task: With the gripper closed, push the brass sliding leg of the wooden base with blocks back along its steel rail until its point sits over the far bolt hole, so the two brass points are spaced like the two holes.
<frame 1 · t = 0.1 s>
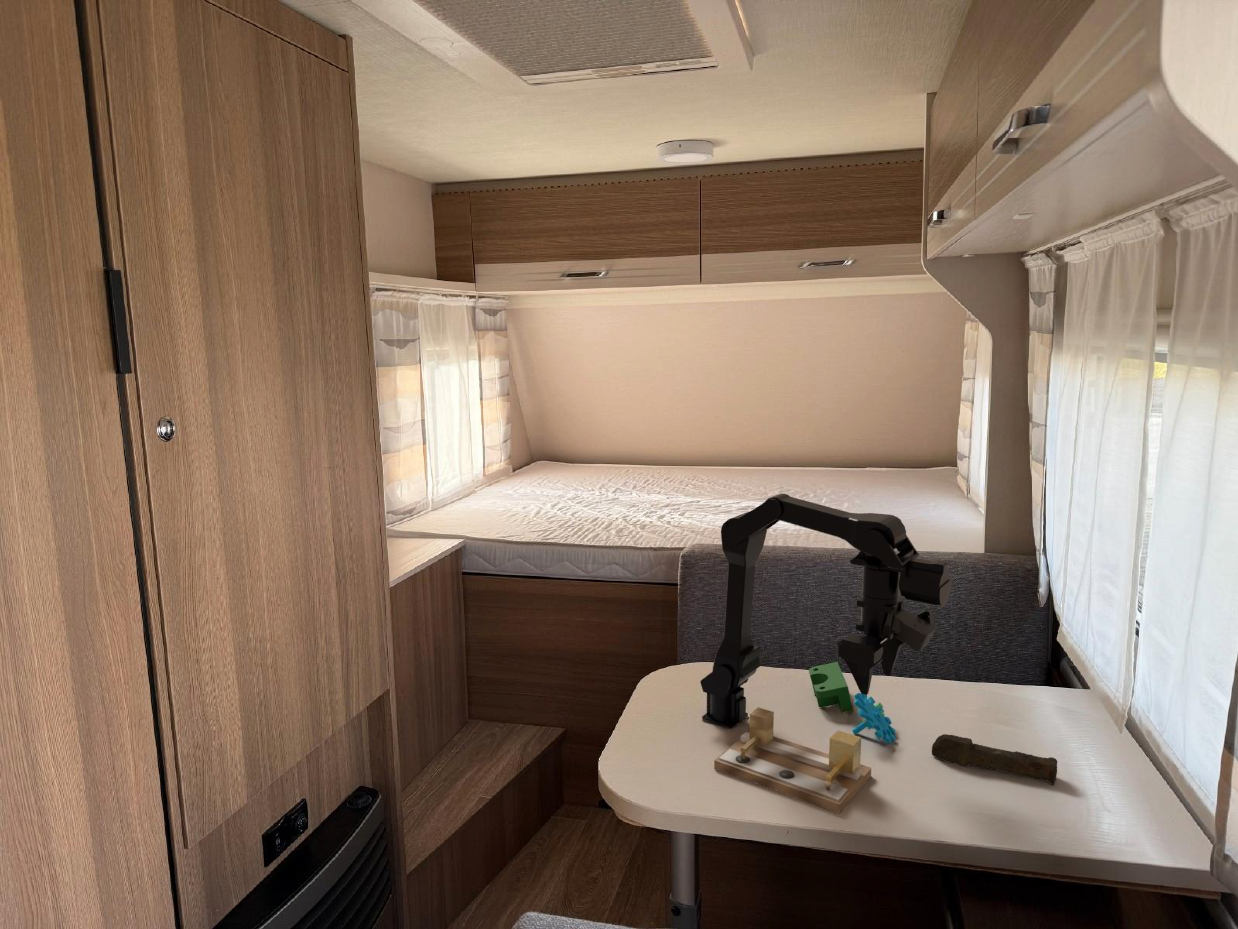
hand: (876, 684, 140), 15 cm above the table, tool pointing down, fingers open, 9 cm apart
hand tool: (992, 772, 141), on the table
sliding leg: (838, 760, 136), point 5 cm above the table, slide at 0.0 cm
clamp: (829, 702, 167), on the table
gear: (874, 736, 153), on the table
wooden base with blocks: (791, 772, 141), on the table
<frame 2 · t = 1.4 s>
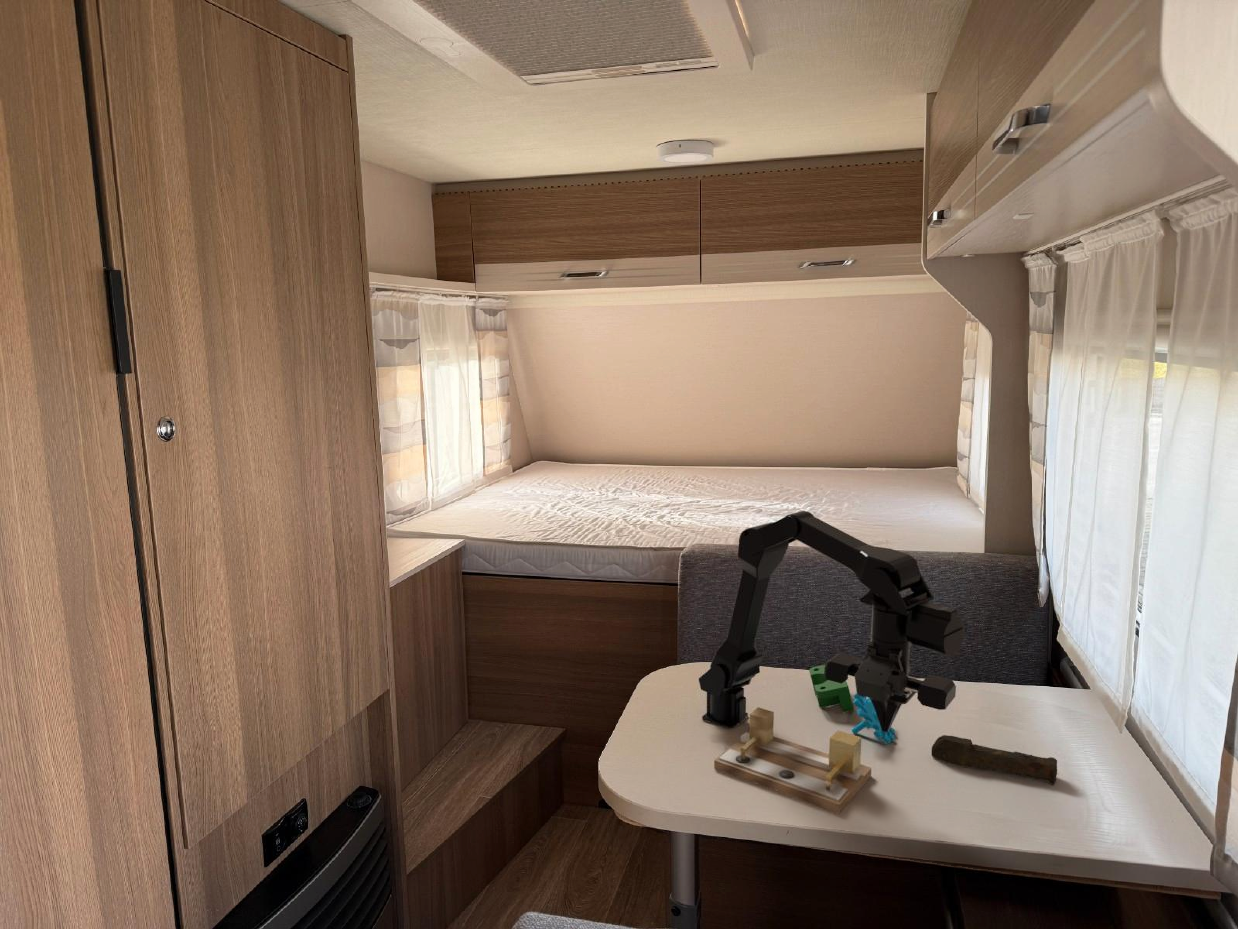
hand: (885, 731, 133), 11 cm above the table, tool pointing down, fingers closed
nothing on the table moved.
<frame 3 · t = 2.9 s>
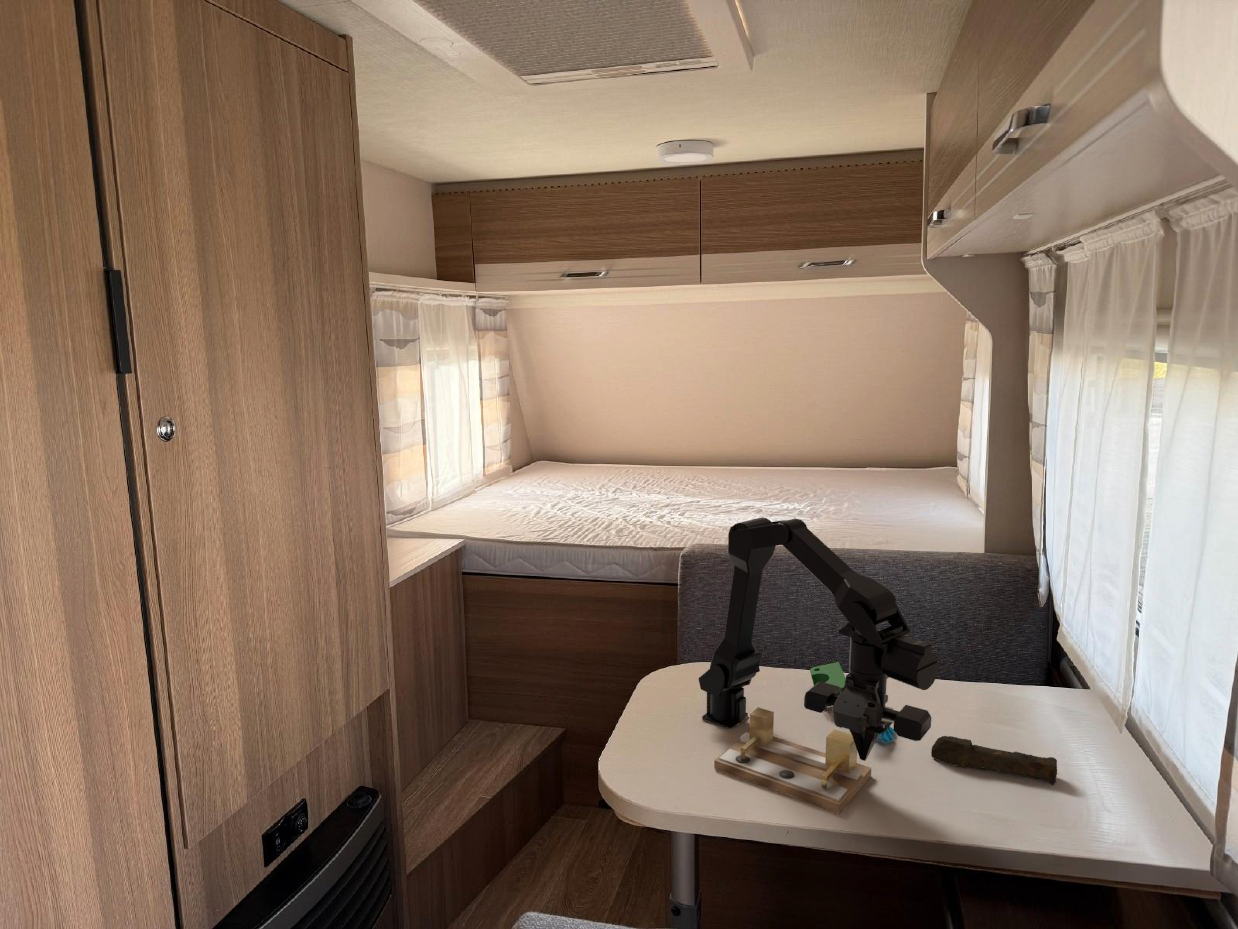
hand: (863, 759, 136), 5 cm above the table, tool pointing down, fingers closed
sliding leg: (834, 759, 136), point 5 cm above the table, slide at 0.6 cm, touching gripper
everything else where it was.
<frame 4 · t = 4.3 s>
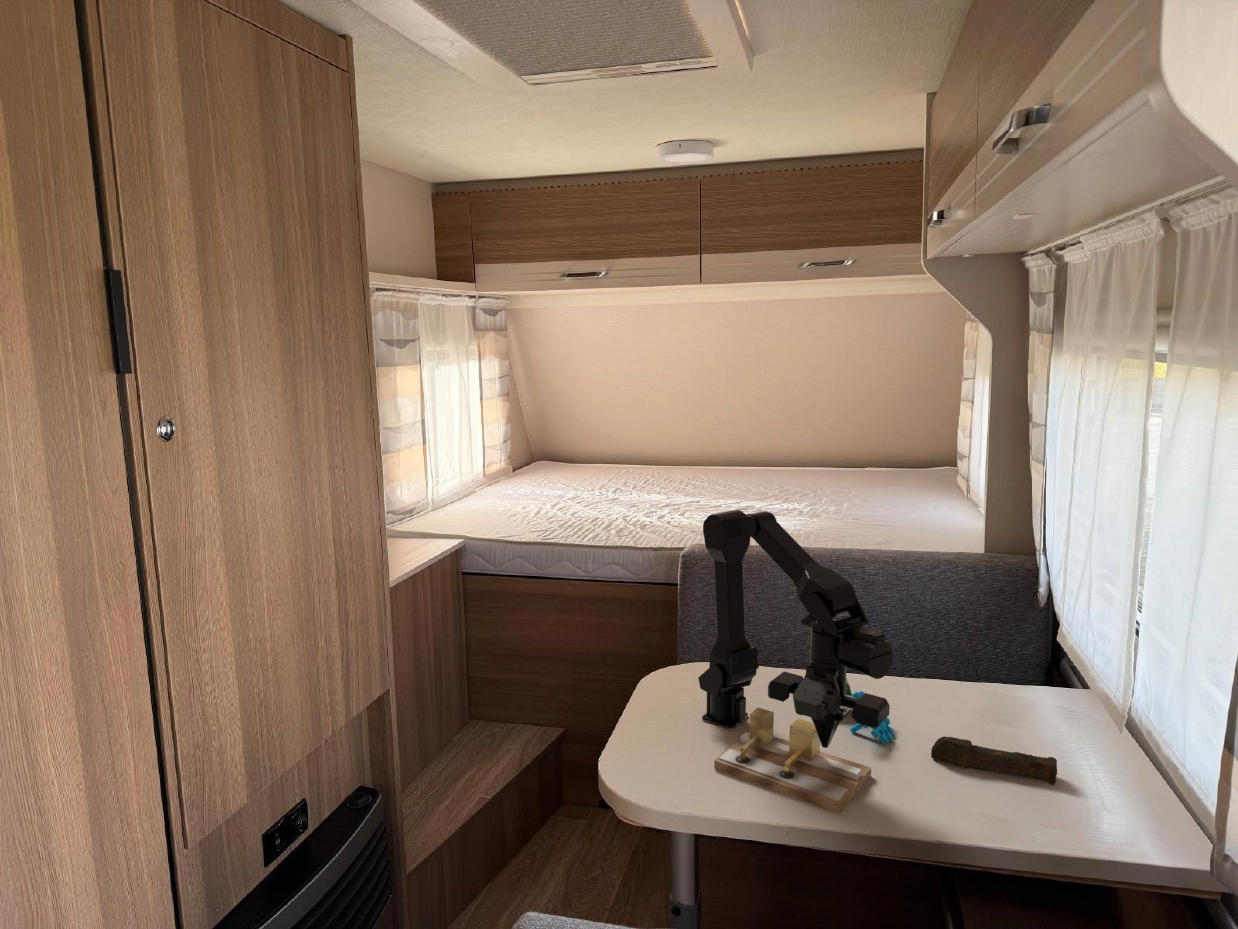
hand: (825, 746, 140), 5 cm above the table, tool pointing down, fingers closed
sliding leg: (797, 747, 140), point 5 cm above the table, slide at 7.0 cm, touching gripper
everything else where it was.
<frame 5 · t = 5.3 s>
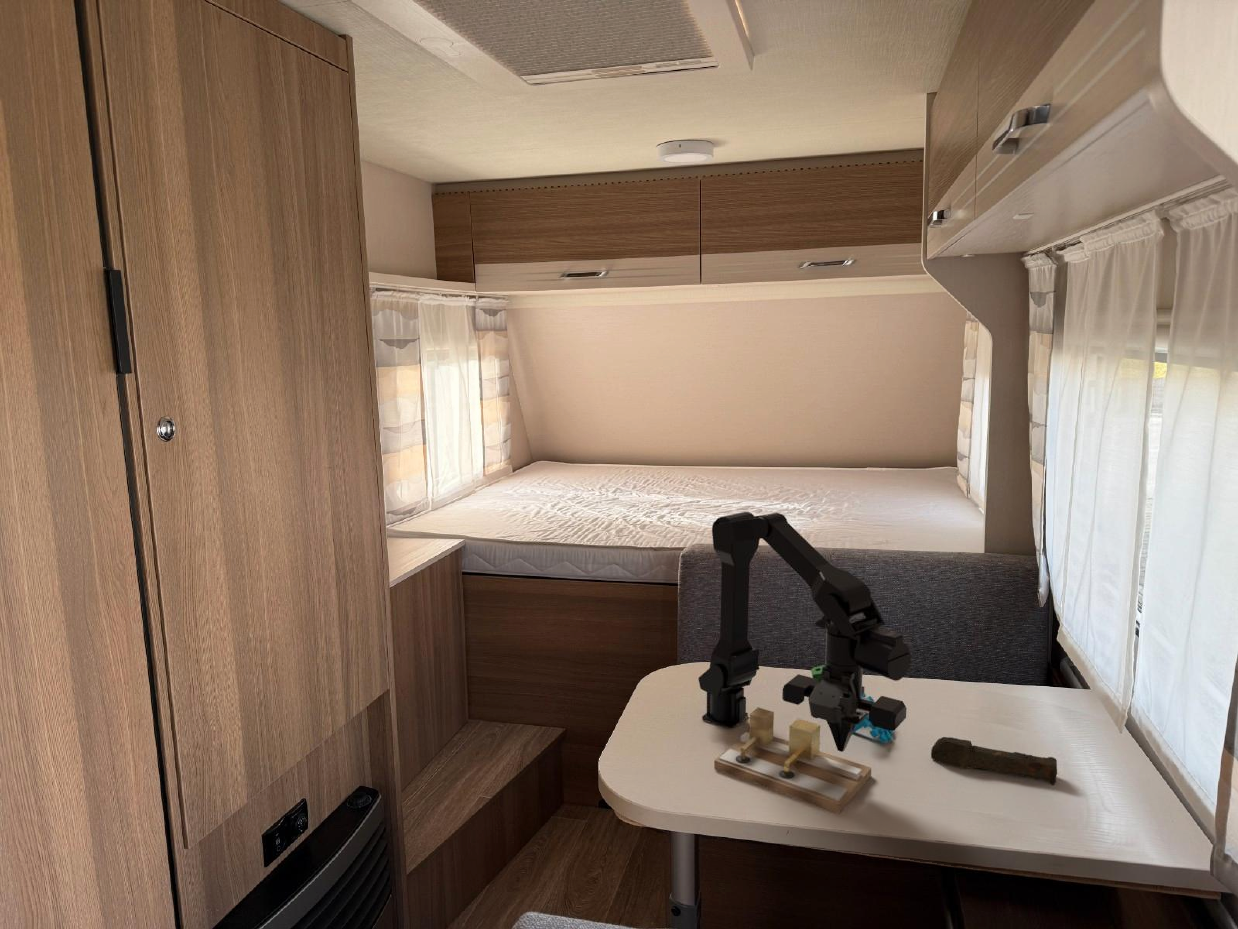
hand: (841, 750, 138), 5 cm above the table, tool pointing down, fingers closed
sliding leg: (797, 747, 140), point 5 cm above the table, slide at 7.1 cm
everything else where it was.
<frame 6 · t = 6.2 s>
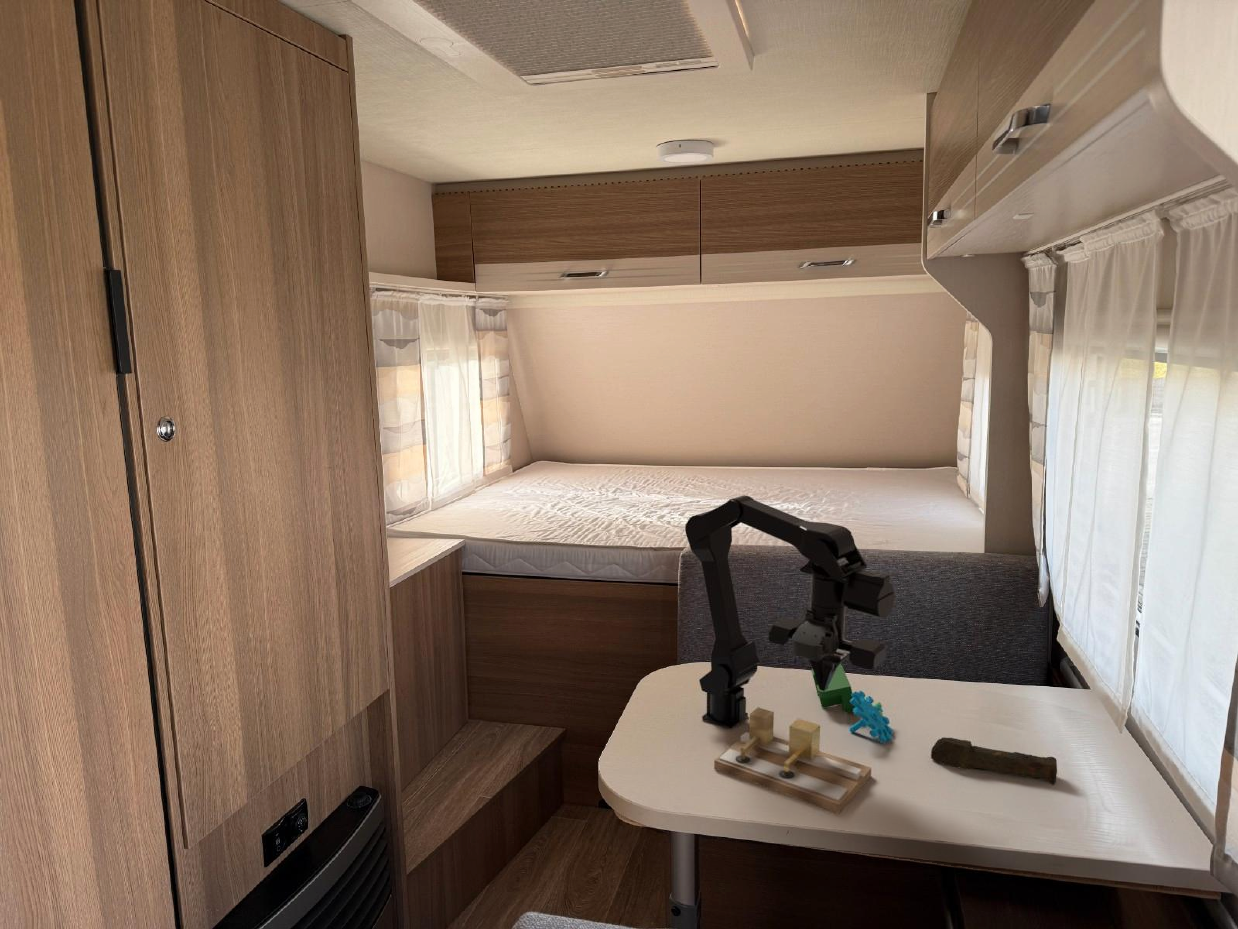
hand: (823, 690, 144), 12 cm above the table, tool pointing down, fingers closed
nothing on the table moved.
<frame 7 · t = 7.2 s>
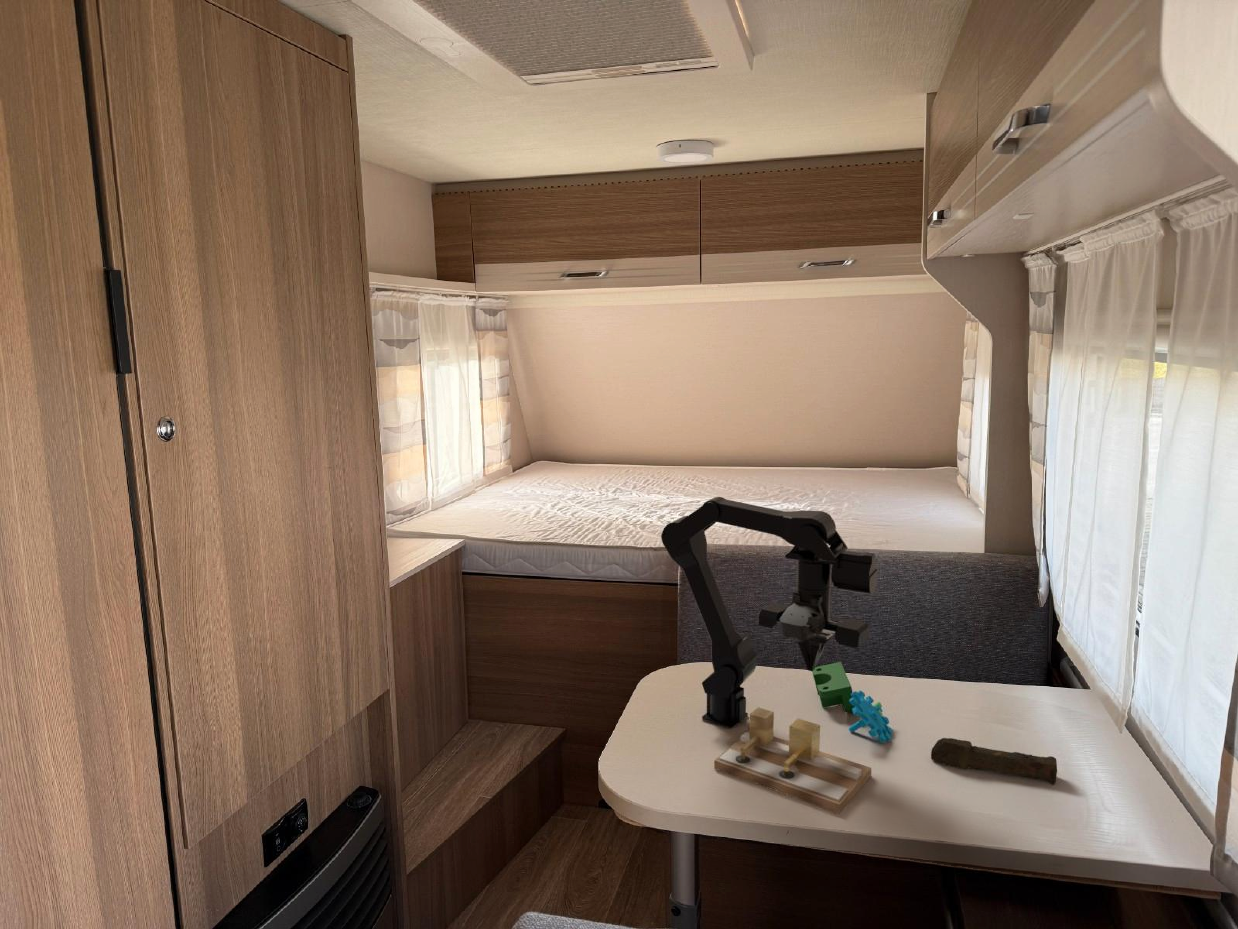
hand: (811, 670, 150), 13 cm above the table, tool pointing down, fingers closed
nothing on the table moved.
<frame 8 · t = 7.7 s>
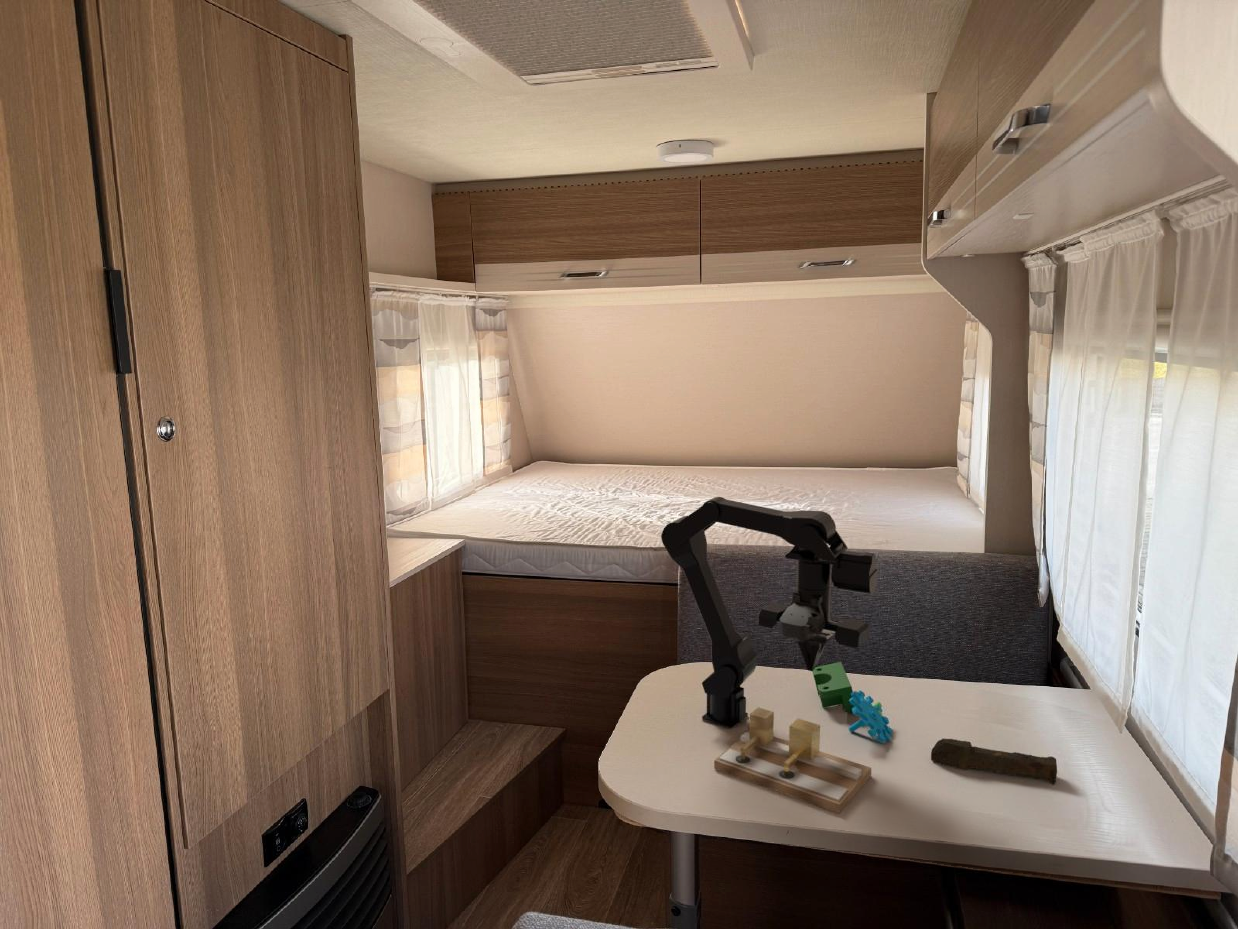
hand: (811, 670, 150), 13 cm above the table, tool pointing down, fingers closed
nothing on the table moved.
at the end: sliding leg slide at 7.1 cm; gear moved 0.8 cm from its start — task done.
